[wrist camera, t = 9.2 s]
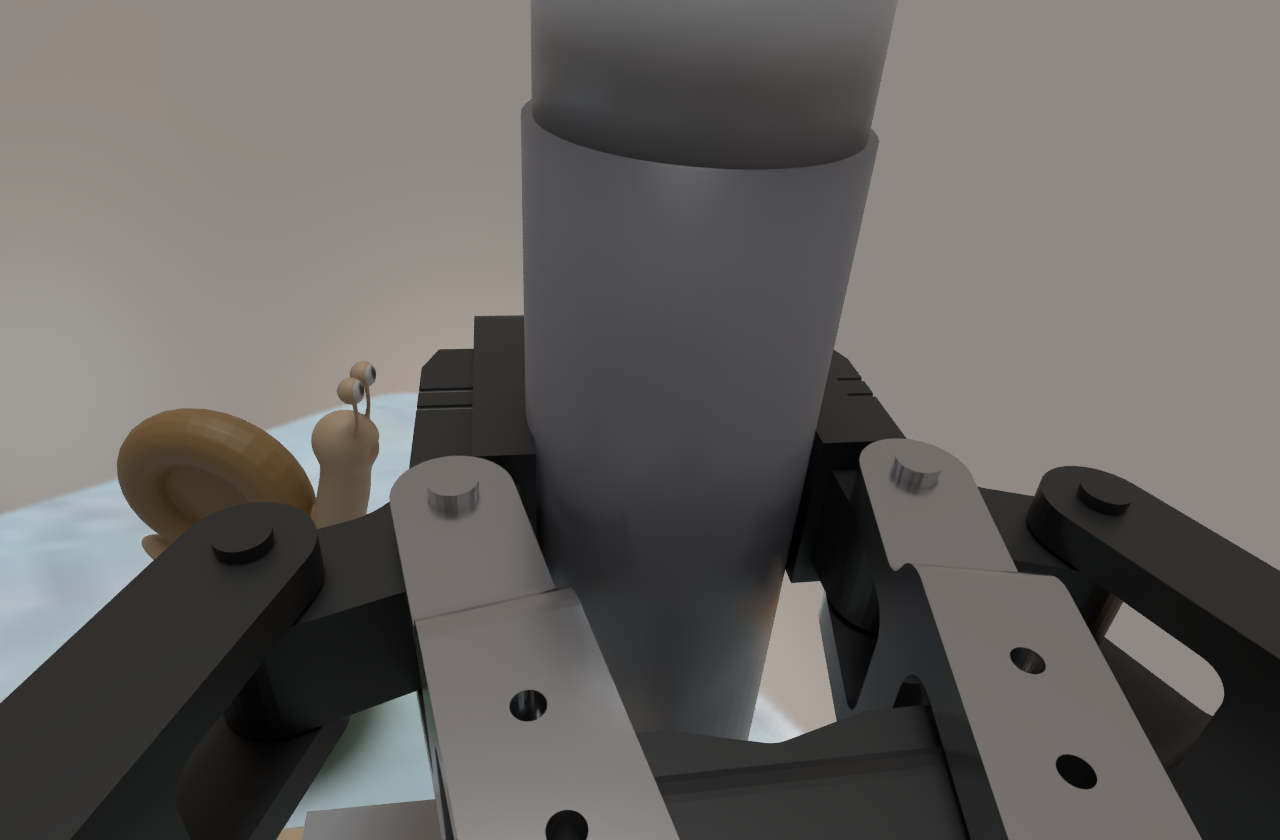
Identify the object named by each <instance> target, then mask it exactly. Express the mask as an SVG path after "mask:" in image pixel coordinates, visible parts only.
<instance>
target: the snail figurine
mask: <svg viewBox="0 0 1280 840" xmlns="http://www.w3.org/2000/svg"><path fill="white" fill-rule="evenodd" d="M375 379H376V372H375V368H374V367H373V366H372V365H371V364H370V363H368V362H358V363H356V364H355V365H354V366H353V367H352V368H351V371H350V378H347V379H345V380H343V381H342V382H340V384H339V385H338V388H337V394H338V397H339V398H340V400H341V401H343V402H344V403H346V404H352V405H353V409H354V411H351V410H339V411H335V412H332V413H329V414H327V415H326V416H324V417H323V418H322V419H321V420H320V421H319V422H318V423H317V424H316V426H315V428H314V430H313V433H312V440H311V442H312V448H313V451H314V454H315V456H316V458H317V460H318V461H319V464H320V479H319V486H318V492H317V498H316V497H315V493H314V490H313V487H312V485H311V483H310V481H309V479H308V477H307V475H306V473H305V471H304V469H303V468H302V467H301V465H300V464H299V463H298V461H297V460H296V459H295V457H294V456H293V455H292V454H291V453H290V452H289V451H288V450H287V449H286V448H285V447H284V446H283V445H282V444H281V443H280V442H279V441H277V440H276V439H275V438H273V437H272V436H271V435H269V434H268V433H266V432H265V431H264V430H262V429H260V428H258V427H257V426H255V425H253V424H251V423H249V422H247V421H245V420H243V419H240V418H237V417H235V416H232V415H229V414H226V413H222V412H217V411H212V410H206V409H176V410H170V411H164V412H162V413H159V414H157V415H154V416H152V417H150V418H148V419H146V420H144V421H143V422H141V423H140V424H139V425H138V426H136V427H135V428H134V429H133V430H131V432H130V433H129V435H128V436H127V438H126V439H125V441H124V442H123V444H122V446H121V448H120V451H119V456H118V461H117V471H118V480H119V484H120V487H121V490H122V492H123V495H124V497H125V498H126V500H127V502H128V504H129V505H130V507H131V508H132V509H133V511H134V512H135V513H136V514H137V515H138V517H139V518H140V519H141V520H142V521H143V522H144V523H146V524H147V525H148V526H149V527H150V528H151V529H153V530H154V531H155V532H157V533H158V534H160V535H158V534H155V535H149V536H146V537H144V538H143V540H142V546H143V548H144V550H145V551H146V552H147V554H148V555H149V556H150V557H151V558H152V559H153V560H155V559H156V558H157V557H158V556H159V555H160V554H161V553H162V552H163V551H164V550H166V549H167V548H168V547H169V546H170V545H171V544H172V543H173V542H174V541H175V540H176V539H177V538H178V537H179V536H181V535H182V534H183V533H184V532H185V531H186V530H187V529H189V528H190V527H191V526H192V525H194V524H195V523H197V522H198V521H200V520H201V519H203V518H205V517H207V516H209V515H211V514H213V513H215V512H218V511H221V510H223V509H226V508H230V507H233V506H237V505H242V504H247V503H256V502H275V503H282V504H287V505H290V506H294V507H296V508H298V509H300V510H302V511H303V512H305V513H306V514H307V515H309V516H310V518H311V519H312V520H313V521H314V524H315V526H316V529H320V528H324V527H328V526H331V525H335V524H339V523H343V522H346V521H350V520H353V519H356V518H359V517H362V516H365V515H366V512H367V506H368V501H369V495H370V486H371V469H372V465H373V463H374V462H375V460H376V458H377V456H378V453H379V442H378V440H379V432H378V429H377V427H376V426H375V424H374V423H373V422H372V421H371V420H370V395H369V386H371V385H372V384H373V383H374V382H375ZM364 388H365V391H366V397H367V409H366V414H365V415H363V414H361V413H359V412H358V410H357V405H356V404H357V403H359V402H360V401H361V400H362V399H363V396H364Z"/></svg>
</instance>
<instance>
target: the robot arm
mask: <svg viewBox="0 0 1280 840" xmlns="http://www.w3.org/2000/svg"><path fill="white" fill-rule="evenodd" d="M785 569H786V572H787V574H788V576H789V579H790V581H791V583H796V582H812V581H821V583H822V585H823V588H824V590H825V591H824V595H823V599H822V603H821V606H820V610H819V624H820V629H821V634H822V641H823V646H824V652H825V657H826V663H827V669H828V674H829V680H830V685H831V691H832V697H833V702H834V708H835V714H836V719H837V722H835V723H832V724H829V725H827V726H824V727H822V728H819V729H816V730H813V731H811V732H808V733H805V734H803V735H800V736H798V737H795V738H792V739H790V740H787V741H784V742H780V743H760V742H752V741H745V740H737V739H730V738H722V737H715V736H707V735H699V734H692V733H684V732H677V731H669V730H665V731H654V732H644V733H635V732H634V729H633V727H632V725H631V722H630V720H629V717H628V715H627V713H626V710H625V708H624V705H623V703H622V701H621V698H620V696H619V694H618V691H617V689H616V686H615V684H614V682H613V679H612V677H611V674H610V672H609V670H608V667H607V665H606V662H605V660H604V658H603V655H602V653H601V651H600V648H599V646H598V643H597V641H596V639H595V636H594V634H593V631H592V629H591V627H590V624H589V622H588V620H587V617H586V615H585V612H584V610H583V608H582V605H581V603H580V601H579V599H578V597H577V595H576V593H575V591H574V590H573V589H572V588H571V587H570V586H563V587H559V588H556V587H555V585H554V583H553V580H552V578H551V575H550V573H549V570H548V568H547V565H546V562H545V560H544V557H543V555H542V552H541V550H540V547H539V545H538V542H537V533H536V450H535V438H534V437H533V435H532V433H531V431H530V428H529V426H528V423H527V418H526V400H525V337H524V316H475V319H474V349H441V350H438V351H437V352H436V353H435V354H434V355H433V357H432V358H431V359H430V360H429V361H428V362H427V363H426V364H425V365H424V366H423V367H422V372H421V379H420V387H419V395H418V403H417V411H416V419H415V427H414V435H413V442H412V450H411V458H410V466H409V470H407V471H406V472H405V473H403V474H402V475H401V476H400V477H399V478H398V479H397V481H396V482H395V483H394V485H393V487H392V489H391V492H390V502H388V503H387V504H385V505H384V506H383V507H381V508H379V509H377V510H376V511H374V512H372V513H369V514H367V515H365V516H362V517H359V518H356V519H353V520H350V521H346V522H343V523H339V524H335V525H331V526H328V527H324V528H320V529H316V526H315V524H314V521H313V520H312V519H311V518H310V516H309V515H307V514H306V513H305V512H303V511H302V510H300V509H298V508H296V507H294V506H290V505H287V504H282V503H275V502H256V503H247V504H242V505H237V506H233V507H230V508H226V509H223V510H221V511H218V512H215V513H213V514H211V515H209V516H207V517H205V518H203V519H201V520H200V521H198V522H197V523H195V524H194V525H192V526H191V527H190V528H189V529H187V530H186V531H185V532H184V533H183V534H182V535H181V536H179V537H178V538H177V539H176V540H175V541H174V542H173V543H172V544H171V545H170V546H169V547H168V548H167V549H166V550H164V551H163V552H162V553H161V554H160V555H159V556H158V557H157V558H156V559H155V560H154V561H153V562H152V563H150V564H149V565H148V566H147V567H146V568H145V569H144V570H143V571H142V572H141V573H140V574H139V575H138V576H137V577H135V578H134V579H133V580H132V581H131V582H130V583H129V584H128V585H127V586H126V587H125V588H124V589H123V590H122V591H120V592H119V593H118V594H117V595H116V596H115V597H114V598H113V599H112V600H111V601H110V602H109V603H108V604H106V605H105V606H104V607H103V608H102V609H101V610H100V611H99V612H98V613H97V614H96V615H95V616H94V617H93V618H91V619H90V620H89V621H88V622H87V623H86V624H85V625H84V626H83V627H82V628H81V629H80V630H79V631H78V632H76V633H75V634H74V635H73V636H72V637H71V638H70V639H69V640H68V641H67V642H66V643H65V644H64V645H63V646H61V647H60V648H59V649H58V650H57V651H56V652H55V653H54V654H53V655H52V656H51V657H50V658H49V659H47V660H46V661H45V662H44V663H43V664H42V665H41V666H40V667H39V668H38V669H37V670H36V671H35V672H34V673H32V674H31V675H30V676H29V677H28V678H27V679H26V680H25V681H24V682H23V683H22V684H21V685H20V686H19V687H17V688H16V689H15V690H14V691H13V692H12V693H11V694H10V695H9V696H8V697H7V698H6V699H5V700H3V701H2V702H1V703H0V840H276V839H277V838H278V836H279V834H280V833H281V831H282V830H283V828H284V826H285V825H286V823H287V822H288V820H289V818H290V817H291V815H292V814H293V812H294V810H295V809H296V807H297V806H298V804H299V802H300V801H301V799H302V798H303V796H304V794H305V793H306V791H307V790H308V788H309V786H310V785H311V783H312V782H313V780H314V778H315V777H316V775H317V774H318V772H319V771H320V769H321V767H322V766H323V764H324V763H325V761H326V759H327V758H328V756H329V755H330V753H331V751H332V750H333V748H334V747H335V745H336V743H337V742H338V740H339V739H340V737H341V735H342V734H343V732H344V730H345V728H346V726H347V725H348V723H349V719H350V716H351V715H352V714H354V713H357V712H360V711H362V710H365V709H368V708H371V707H373V706H376V705H379V704H382V703H384V702H387V701H390V700H392V699H395V698H398V697H401V696H403V695H406V694H409V693H411V692H414V691H416V693H417V698H418V704H419V709H420V715H421V721H422V726H423V732H424V737H425V743H426V748H427V754H428V760H429V765H430V771H431V776H432V782H433V787H434V793H435V799H436V805H437V811H438V818H439V824H440V831H441V837H442V840H1280V571H1279V570H1277V569H1276V568H1274V567H1272V566H1270V565H1269V564H1267V563H1265V562H1264V561H1262V560H1260V559H1259V558H1257V557H1255V556H1254V555H1252V554H1250V553H1248V552H1247V551H1245V550H1243V549H1242V548H1240V547H1239V546H1237V545H1235V544H1233V543H1232V542H1230V541H1228V540H1227V539H1225V538H1223V537H1222V536H1220V535H1218V534H1217V533H1215V532H1213V531H1212V530H1210V529H1208V528H1207V527H1205V526H1203V525H1201V524H1199V523H1198V522H1196V521H1195V520H1193V519H1191V518H1190V517H1188V516H1186V515H1185V514H1183V513H1181V512H1180V511H1178V510H1176V509H1175V508H1173V507H1171V506H1169V505H1168V504H1166V503H1164V502H1163V501H1161V500H1159V499H1158V498H1156V497H1154V496H1153V495H1151V494H1149V493H1148V492H1146V491H1144V490H1142V489H1141V488H1139V487H1137V486H1136V485H1134V484H1132V483H1130V482H1129V481H1127V480H1125V479H1122V478H1120V477H1118V476H1115V475H1113V474H1110V473H1107V472H1104V471H1101V470H1097V469H1093V468H1087V467H1079V466H1064V467H1058V468H1055V469H1052V470H1050V471H1048V472H1047V473H1046V474H1045V475H1044V476H1043V477H1042V480H1041V482H1040V484H1039V487H1038V489H1037V492H1036V494H1035V496H1028V495H1022V494H1016V493H1009V492H1004V491H998V490H991V489H985V488H981V487H977V485H976V484H975V482H974V479H973V477H972V475H971V473H970V472H969V470H968V469H967V467H966V466H965V465H964V464H963V463H962V462H961V461H959V460H958V459H957V458H956V457H954V456H953V455H951V454H950V453H948V452H946V451H944V450H942V449H940V448H938V447H936V446H933V445H930V444H927V443H924V442H920V441H915V440H910V439H906V437H904V435H903V433H902V432H901V431H900V429H899V428H898V426H897V425H896V424H895V422H894V421H893V420H892V418H891V417H890V416H889V414H888V413H887V412H886V410H885V409H884V408H883V406H882V405H881V403H880V402H879V401H878V399H877V398H876V397H873V393H872V391H871V390H870V389H869V387H868V386H867V385H866V383H865V382H864V381H861V376H860V375H859V374H858V372H857V371H856V370H855V368H854V367H853V365H852V364H851V363H850V361H849V360H848V359H847V358H845V357H844V356H842V355H841V354H839V353H838V352H836V351H835V350H833V354H832V358H831V363H830V367H829V372H828V377H827V381H826V386H825V390H824V395H823V399H822V404H821V408H820V413H819V417H818V422H817V427H816V431H815V436H814V440H813V445H812V449H811V454H810V458H809V463H808V468H807V472H806V477H805V481H804V486H803V490H802V495H801V499H800V504H799V509H798V513H797V518H796V522H795V527H794V531H793V536H792V540H791V545H790V550H789V554H788V559H787V563H786V568H785ZM1123 602H1125V603H1126V604H1128V605H1129V606H1130V607H1132V608H1133V609H1135V610H1136V611H1137V612H1139V613H1140V614H1142V615H1143V616H1145V617H1146V618H1147V619H1149V620H1150V621H1152V622H1153V623H1155V624H1156V625H1157V626H1159V627H1160V628H1161V629H1163V630H1165V631H1166V632H1167V633H1169V634H1170V635H1171V636H1173V637H1174V638H1176V639H1177V640H1179V641H1180V642H1182V643H1183V644H1184V645H1186V646H1187V647H1188V648H1190V649H1191V650H1193V651H1194V652H1195V653H1197V654H1198V655H1200V656H1201V657H1202V658H1204V659H1205V660H1206V661H1207V662H1208V663H1209V664H1210V665H1212V667H1213V668H1214V669H1215V670H1216V672H1217V673H1218V675H1219V677H1220V678H1221V681H1222V683H1223V687H1224V699H1223V702H1222V704H1221V706H1220V707H1219V709H1218V710H1217V711H1216V713H1215V714H1214V716H1211V715H1209V714H1207V713H1205V712H1204V711H1202V710H1201V709H1199V708H1198V707H1197V706H1195V705H1194V704H1192V703H1191V702H1190V701H1189V700H1187V699H1186V698H1185V697H1183V696H1182V695H1180V694H1179V693H1178V692H1176V691H1175V690H1174V689H1173V688H1171V687H1170V686H1169V685H1167V684H1166V683H1165V682H1163V681H1162V680H1161V679H1159V678H1158V677H1156V676H1155V675H1154V674H1153V673H1151V672H1150V671H1149V670H1147V669H1146V668H1145V667H1143V666H1142V665H1141V664H1140V663H1138V662H1137V661H1136V660H1134V659H1133V658H1132V657H1130V656H1129V655H1127V654H1126V653H1125V652H1124V651H1122V650H1121V649H1120V648H1118V647H1117V646H1116V645H1114V644H1113V643H1112V642H1110V641H1109V640H1107V639H1106V638H1105V637H1104V636H1105V634H1106V632H1107V631H1108V629H1109V627H1110V625H1111V623H1112V621H1113V620H1114V618H1115V616H1116V614H1117V612H1118V610H1119V609H1120V606H1121V604H1122V603H1123Z"/></svg>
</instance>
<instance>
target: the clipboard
mask: <svg viewBox="0 0 1280 840" xmlns="http://www.w3.org/2000/svg"><path fill="white" fill-rule="evenodd" d="M276 840H442V837H441V831H440V824H439V818H438V811H437V805H436V799H433V800H423V801H413V802H403V803H393V804H383V805H372V806H362V807H352V808H342V809H332V810H322V811H311V812H307V815H306V821H305V826H304V827H297V828H287V829H283V830H282V831H281V833H280V834H279V836H278V838H277V839H276Z"/></svg>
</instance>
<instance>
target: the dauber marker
mask: <svg viewBox="0 0 1280 840" xmlns="http://www.w3.org/2000/svg"><path fill="white" fill-rule="evenodd" d="M897 2H898V0H531V72H532V73H531V75H532V76H531V77H532V78H531V79H532V99H531V100H530V101H528V102H527V103H526V104H525V105H524V107H523V108H522V110H521V145H522V148H521V149H522V210H523V211H522V212H523V274H524V337H525V400H526V418H527V423H528V426H529V428H530V431H531V433H532V435H533V437H534V438H535V450H536V533H537V542H538V545H539V547H540V550H541V552H542V555H543V557H544V560H545V562H546V565H547V568H548V570H549V573H550V575H551V578H552V580H553V583H554V585H555V587H556V588H559V587H563V586H570V587H571V588H572V589H573V590H574V591H575V593H576V595H577V597H578V599H579V601H580V603H581V605H582V608H583V610H584V612H585V615H586V617H587V620H588V622H589V624H590V627H591V629H592V631H593V634H594V636H595V639H596V641H597V643H598V646H599V648H600V651H601V653H602V655H603V658H604V660H605V662H606V665H607V667H608V670H609V672H610V674H611V677H612V679H613V682H614V684H615V686H616V689H617V691H618V694H619V696H620V698H621V701H622V703H623V705H624V708H625V710H626V713H627V715H628V717H629V720H630V722H631V725H632V727H633V729H634V732H635V733H644V732H654V731H665V730H669V731H677V732H684V733H692V734H699V735H707V736H715V737H722V738H730V739H737V740H745V741H748V736H749V732H750V727H751V723H752V718H753V713H754V709H755V704H756V700H757V695H758V691H759V686H760V682H761V676H762V672H763V668H764V663H765V658H766V654H767V649H768V645H769V641H770V636H771V631H772V627H773V622H774V618H775V613H776V609H777V604H778V599H779V594H780V590H781V586H782V581H783V576H784V572H785V568H786V563H787V559H788V554H789V550H790V545H791V540H792V536H793V531H794V527H795V522H796V518H797V513H798V509H799V504H800V499H801V495H802V490H803V486H804V481H805V477H806V472H807V468H808V463H809V458H810V454H811V449H812V445H813V440H814V436H815V431H816V427H817V422H818V417H819V413H820V408H821V404H822V399H823V395H824V390H825V386H826V381H827V377H828V372H829V367H830V363H831V358H832V354H833V349H834V345H835V340H836V336H837V331H838V326H839V321H840V317H841V313H842V308H843V303H844V299H845V294H846V290H847V285H848V281H849V276H850V272H851V267H852V263H853V258H854V253H855V249H856V244H857V240H858V235H859V230H860V226H861V222H862V217H863V212H864V208H865V204H866V199H867V194H868V190H869V185H870V180H871V176H872V171H873V167H874V163H875V158H876V153H877V148H878V144H879V140H878V137H877V135H876V134H875V132H874V131H873V130H872V129H871V125H872V120H873V115H874V110H875V105H876V101H877V96H878V91H879V87H880V82H881V77H882V72H883V68H884V63H885V59H886V54H887V49H888V44H889V40H890V35H891V30H892V26H893V21H894V16H895V11H896V6H897Z"/></svg>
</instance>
